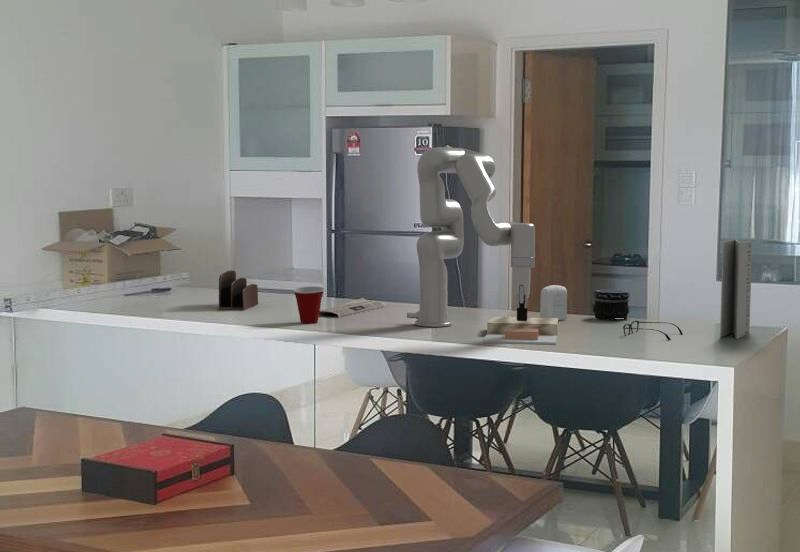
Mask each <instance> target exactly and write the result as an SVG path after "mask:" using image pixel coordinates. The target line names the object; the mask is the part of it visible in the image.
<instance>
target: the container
mask: <svg viewBox="0 0 800 552" xmlns="http://www.w3.org/2000/svg"><path fill="white" fill-rule="evenodd" d="M630 295H631V294H630V293H629V292H628V290H621V289H596V290H595V292H593V297H594V299H593V300H594V305H593V309H592V312H593V313H594V318H595V319H596V320H603V321H625V319H626V320H628V315H629V313H630V308H629V307H630V306H629V301H630V299H629V298H630ZM615 318H624V319H615Z"/></svg>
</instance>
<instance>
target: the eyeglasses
mask: <svg viewBox="0 0 800 552" xmlns="http://www.w3.org/2000/svg"><path fill="white" fill-rule="evenodd" d="M634 323H636V327H632V325H633V324H634ZM639 324H665V322H663V321H659V322H657V321H656V322H655V321H639V320H634V321H632V322H631V323H630V324H629V323H625V324H624V325H623V326H622V329H623V333H624V336H625V337H627V335H626V330H627V329H628V336H629V335H630V333H632V334H634V330H636V331H635V332H637V333H638V332H639V330H643V328H641V327H639ZM667 324H669V325H672V326H675V327H676V328H677V329H678V332H679V335H682V336H683V335H684V334H683V331H682V330H681V328H680V327H679V326H677V325H676V324H674V323H670V322H667ZM626 326H628V327H626ZM646 330H651V331H657V332H659V333H662V334H663V335H664V336H665V338H666V339H667V341H671V340H672V339H671V338H670V337H669V335H668V334H667V333H666V332H663V331H661V330H659V329H653V328H652V329H651V328H646Z"/></svg>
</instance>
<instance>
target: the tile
mask: <svg viewBox="0 0 800 552" xmlns="http://www.w3.org/2000/svg"><path fill="white" fill-rule="evenodd" d="M538 337H539V329H529V328H506V331H505V339H526V340H538Z"/></svg>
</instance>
